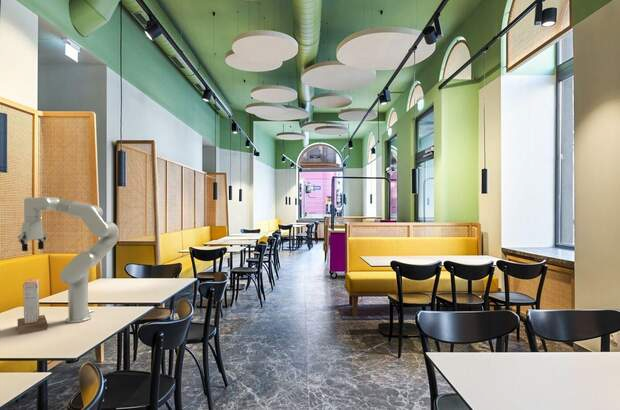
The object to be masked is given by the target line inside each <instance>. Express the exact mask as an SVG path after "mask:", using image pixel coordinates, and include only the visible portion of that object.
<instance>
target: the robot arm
mask: <svg viewBox="0 0 620 410" xmlns="http://www.w3.org/2000/svg"><path fill="white" fill-rule="evenodd" d="M42 211H57V212H61V213H65V214H68V215H69V216H70V217H75V218H80V219H81V220H82V221H83V223H84V224H85V226H87V228H88V230H90V232H91V233H92V234H93V235H94V236H95V237H97V238H100V239H98V240H97V241H96V242H95V243H94V244H93V245H92V246H91V247H90V248H89V249H87V250H85V251H82V252H79V253H78V254H77V255H75V256H74V257H73V258H72V259H71V260H70V262H68V263H67V264H66V265H65V267H63V269H62V270H61V271H60V275H59V278H60V280H61V282H62V283H64V284H67V285H68V287H67V291H68V293H67V294H68V296H67V297H68V300H67V301H68V302H67V304H68V308H67V309H68V317H67V318H65V320H64V322H65V323H69V324H75V323H76V324H77V323H82V322H87V321H89V320H91V319H92V315H90V314H92V313H94V312H95V309H94V308H92V309H89V300H88V299H89V277H90V271H89V269H90V268H93V267H95V266H97V265H98V264H99V263H100V262H101V260H103V258H104V257H106V255H107V254H108V253H109V252H110V251H111V250H112V249H113V247H114V246H115V245H116V244H117V242H118V240H119V238H120V230H119V227H118V225H116V223H114V222H112V221H104V220H103V218H102V217H103V216H104V211H103V209H102V207H100V206H99V205H95V204H91V203H85V202H80V201H76V200H75V201H74V200H69V199H65V198H64V199H63V198H60V197H54V196H41V197H39V196H38V197H26V198H25V197H24V200H23V212H24V213H23V214H24V215H23V217H24V220H23V222H22V225H21V230H20V234H19V235H17V239H18V240H17V241H18V242H19V243H20V245H21V251H22V252H27V251H28V249H29V247H28V244H29V243H28V242H29V241H34V240H37V249H38V250H44V247H45V246H44V242H45V241H46V239H47V237H48V233H46V232H45V231H44V227H43V222H42V220H43V218H42V215H41V214H42V213H41V212H42Z"/></svg>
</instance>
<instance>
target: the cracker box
mask: <svg viewBox="0 0 620 410" xmlns="http://www.w3.org/2000/svg"><path fill="white" fill-rule="evenodd" d="M39 287H40V286H39V278H35V279H33V278H32V279H26V280H25V282H24V283H23V284H22V289H23V292H22V294H23V318H24V324H30V323H36V322H38V319H39V316H40V293H39V291H40V290H39V289H40V288H39Z"/></svg>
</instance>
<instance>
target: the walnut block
mask: <svg viewBox="0 0 620 410" xmlns="http://www.w3.org/2000/svg"><path fill="white" fill-rule="evenodd" d="M46 330H48V321H47V317H46V316H45V314H41V315H40V314H39V319H38V322H36V323H30V324H24V317H22V318H17V331H18V335H23V334H30V333H35V332H41V331H46Z"/></svg>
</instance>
